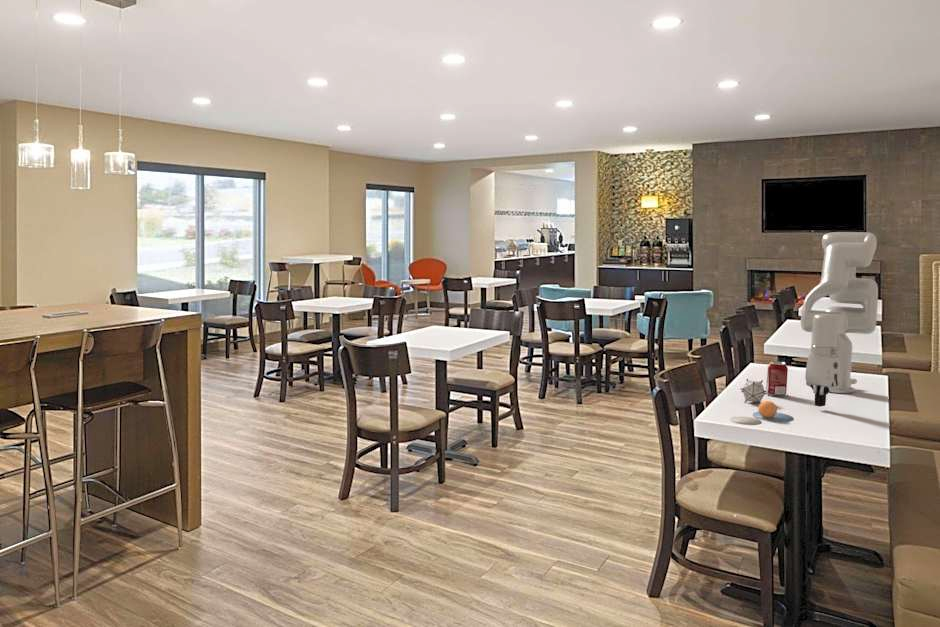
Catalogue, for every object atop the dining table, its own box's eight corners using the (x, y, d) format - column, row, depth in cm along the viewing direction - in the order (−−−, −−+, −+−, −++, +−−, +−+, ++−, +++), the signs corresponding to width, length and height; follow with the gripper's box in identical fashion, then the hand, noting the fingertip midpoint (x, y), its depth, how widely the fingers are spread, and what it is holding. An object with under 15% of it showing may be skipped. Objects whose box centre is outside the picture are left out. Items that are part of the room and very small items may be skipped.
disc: (770, 410, 238) (770, 410, 238) (801, 419, 228) (801, 418, 228) (744, 414, 233) (744, 413, 233) (774, 423, 222) (774, 422, 222)
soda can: (788, 397, 258) (790, 364, 257) (767, 396, 259) (769, 363, 258) (783, 393, 265) (785, 361, 263) (764, 392, 266) (766, 360, 265)
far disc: (744, 415, 231) (744, 415, 231) (767, 422, 223) (767, 422, 223) (723, 418, 227) (724, 418, 227) (746, 425, 219) (746, 425, 219)
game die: (746, 412, 251) (732, 386, 255) (768, 403, 252) (754, 378, 256) (752, 405, 243) (738, 378, 247) (776, 396, 244) (761, 370, 248)
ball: (752, 404, 229) (756, 419, 231) (766, 408, 224) (771, 423, 226) (764, 396, 231) (768, 410, 233) (778, 399, 226) (782, 414, 228)
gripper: (851, 354, 233) (847, 409, 235) (811, 347, 246) (808, 399, 248) (836, 355, 230) (832, 411, 232) (796, 348, 243) (793, 402, 245)
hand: (819, 405), depth 240 cm, fingers closed
